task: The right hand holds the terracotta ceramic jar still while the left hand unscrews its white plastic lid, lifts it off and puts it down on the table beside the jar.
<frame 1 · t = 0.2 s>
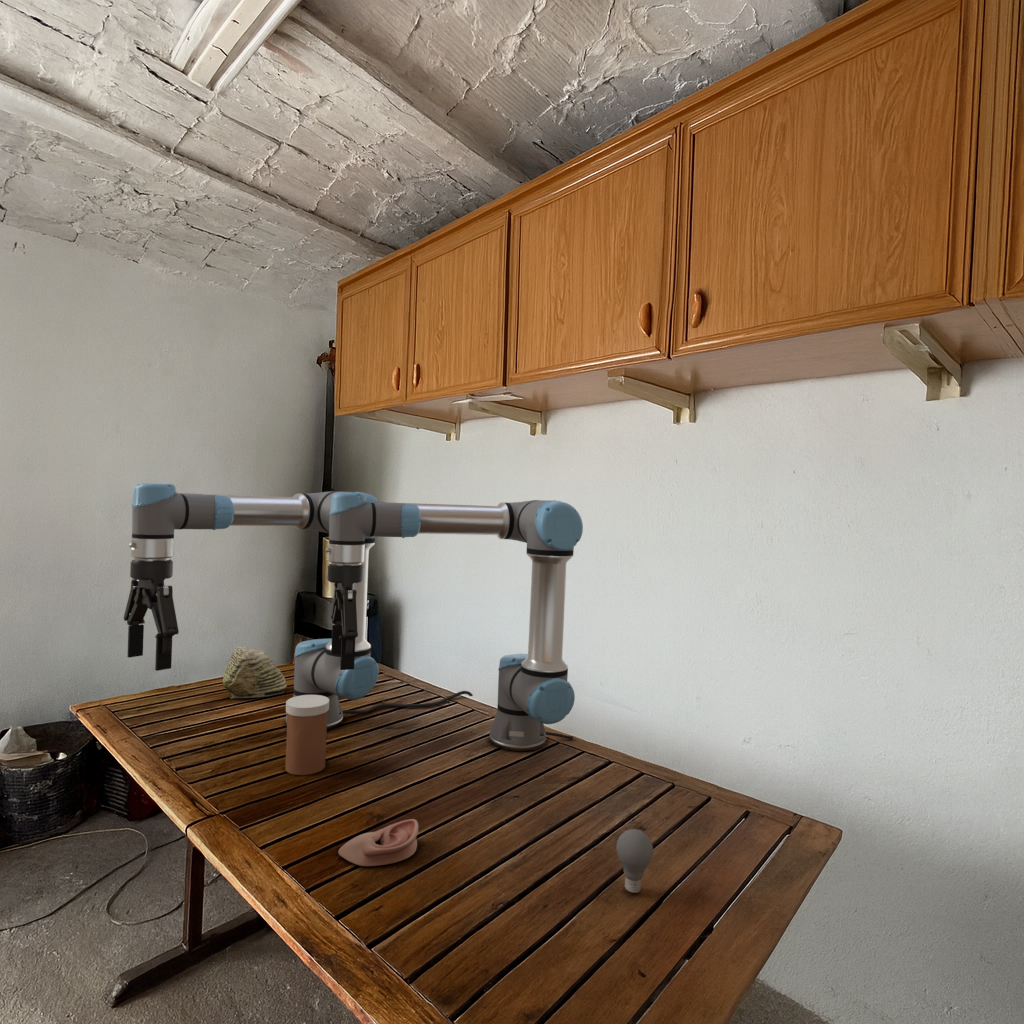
left hand: (148, 662, 129), 28 cm above the table, tool pointing down, fingers open, 13 cm apart
right hand: (342, 661, 137), 28 cm above the table, tool pointing down, fingers open, 13 cm apart
jar: (305, 766, 148), on the table
lid: (307, 702, 148), point 15 cm above the table, screwed on, not yet turned
light bulb: (632, 891, 106), on the table
anatomical model: (378, 850, 115), on the table
fossil: (254, 694, 198), on the table
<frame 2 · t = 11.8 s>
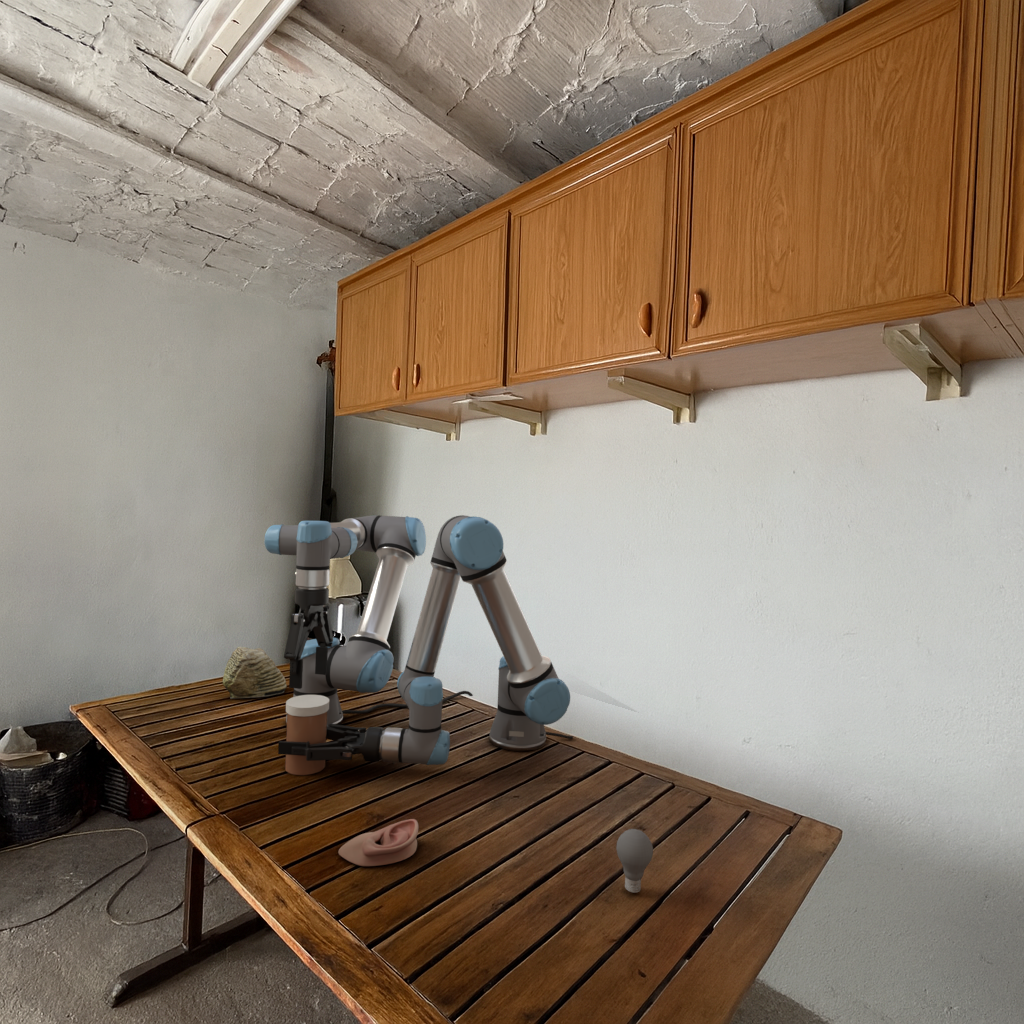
left hand: (308, 680, 148), 20 cm above the table, tool pointing down, fingers open, 11 cm apart
right hand: (287, 739, 148), 6 cm above the table, tool horizontal, fingers closed on jar, 9 cm apart
jar: (305, 766, 148), on the table, touching right hand
everything else where it was.
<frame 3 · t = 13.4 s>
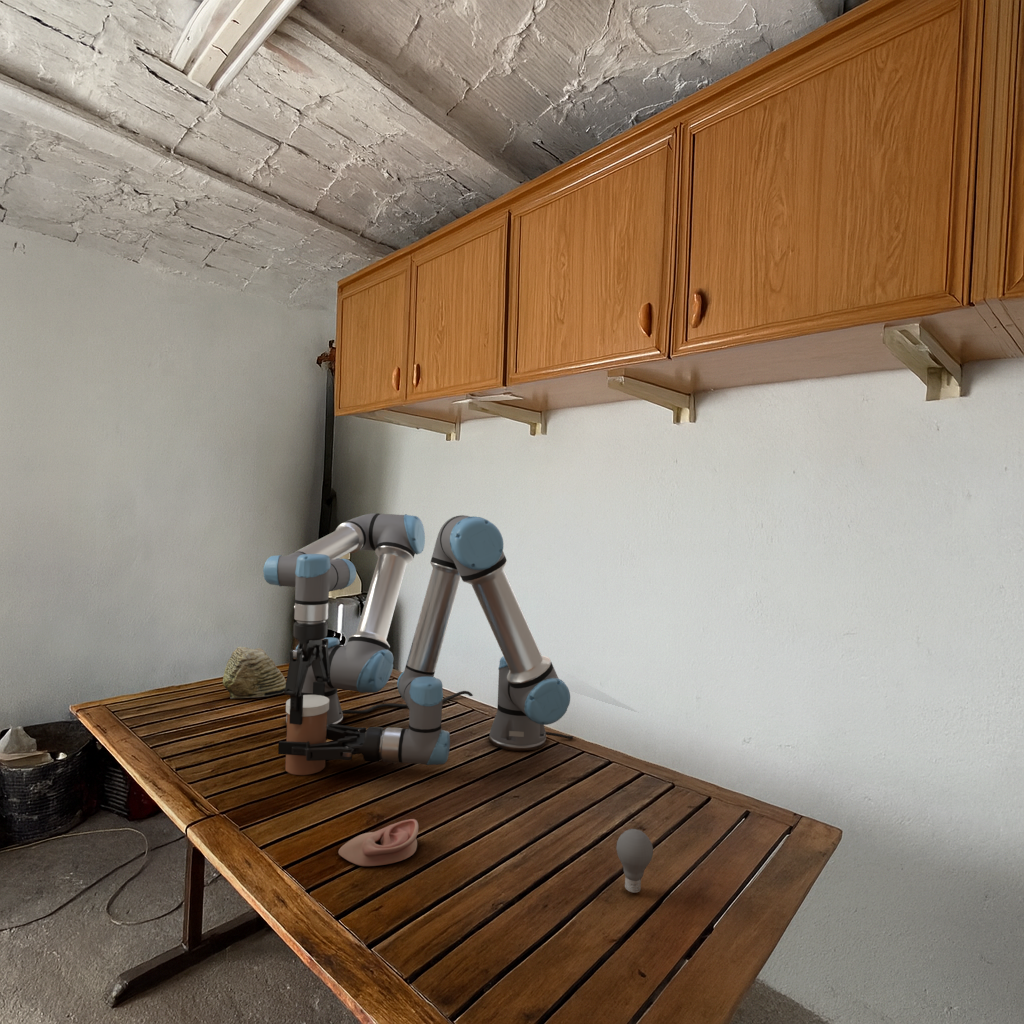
left hand: (307, 716, 148), 12 cm above the table, tool pointing down, fingers closed on lid, 10 cm apart
right hand: (287, 739, 148), 6 cm above the table, tool horizontal, fingers closed on jar, 9 cm apart
jar: (305, 766, 148), on the table, touching right hand
lid: (307, 702, 148), point 15 cm above the table, screwed on, not yet turned, touching left hand
everything else where it was.
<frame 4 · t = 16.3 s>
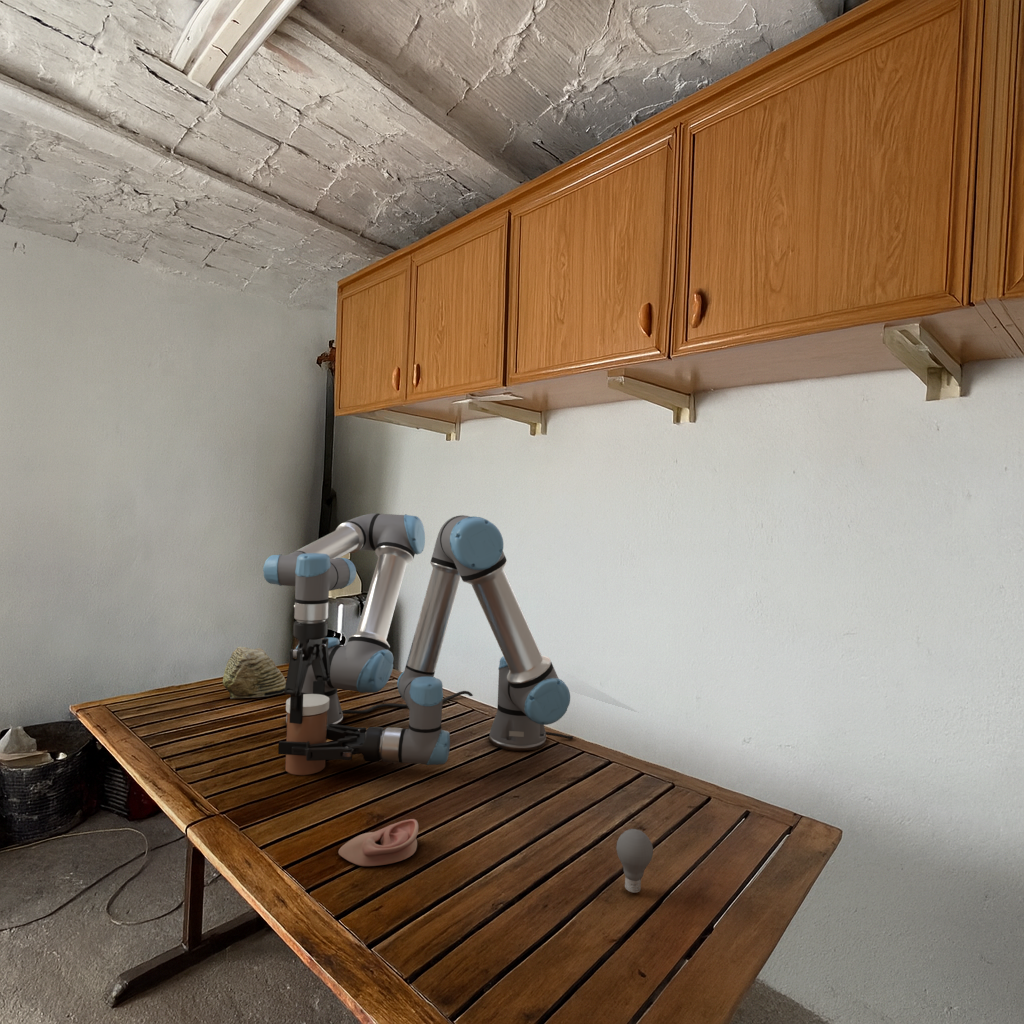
left hand: (307, 715, 148), 12 cm above the table, tool pointing down, fingers closed on lid, 10 cm apart
right hand: (287, 739, 148), 6 cm above the table, tool horizontal, fingers closed on jar, 9 cm apart
jar: (305, 766, 148), on the table, touching right hand
lid: (307, 701, 148), point 15 cm above the table, turned 64° so far, risen 0.2 cm, still on its thread, touching left hand
everything else where it was.
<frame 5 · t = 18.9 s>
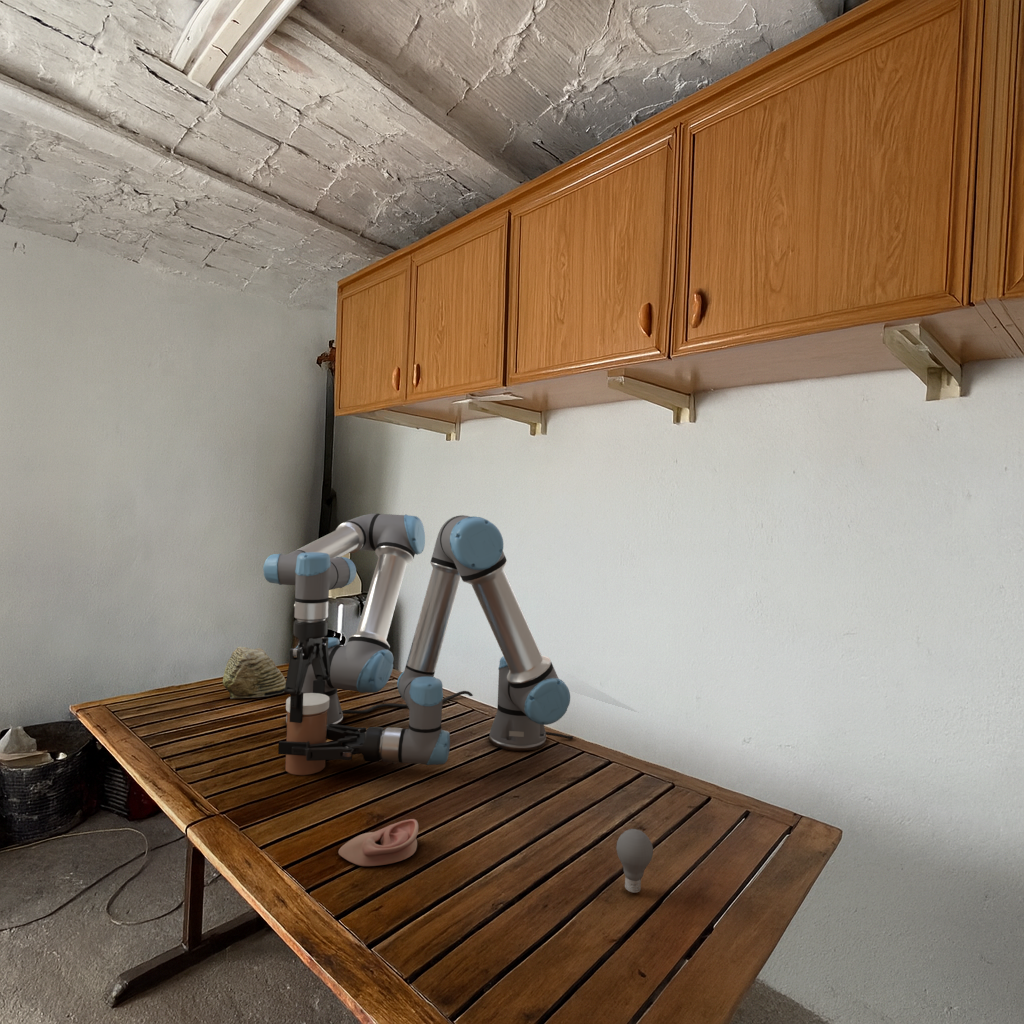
left hand: (307, 714, 148), 12 cm above the table, tool pointing down, fingers closed on lid, 10 cm apart
right hand: (287, 739, 148), 6 cm above the table, tool horizontal, fingers closed on jar, 9 cm apart
jar: (305, 766, 148), on the table, touching right hand
lid: (308, 700, 148), point 16 cm above the table, turned 129° so far, risen 0.4 cm, still on its thread, touching left hand
everything else where it was.
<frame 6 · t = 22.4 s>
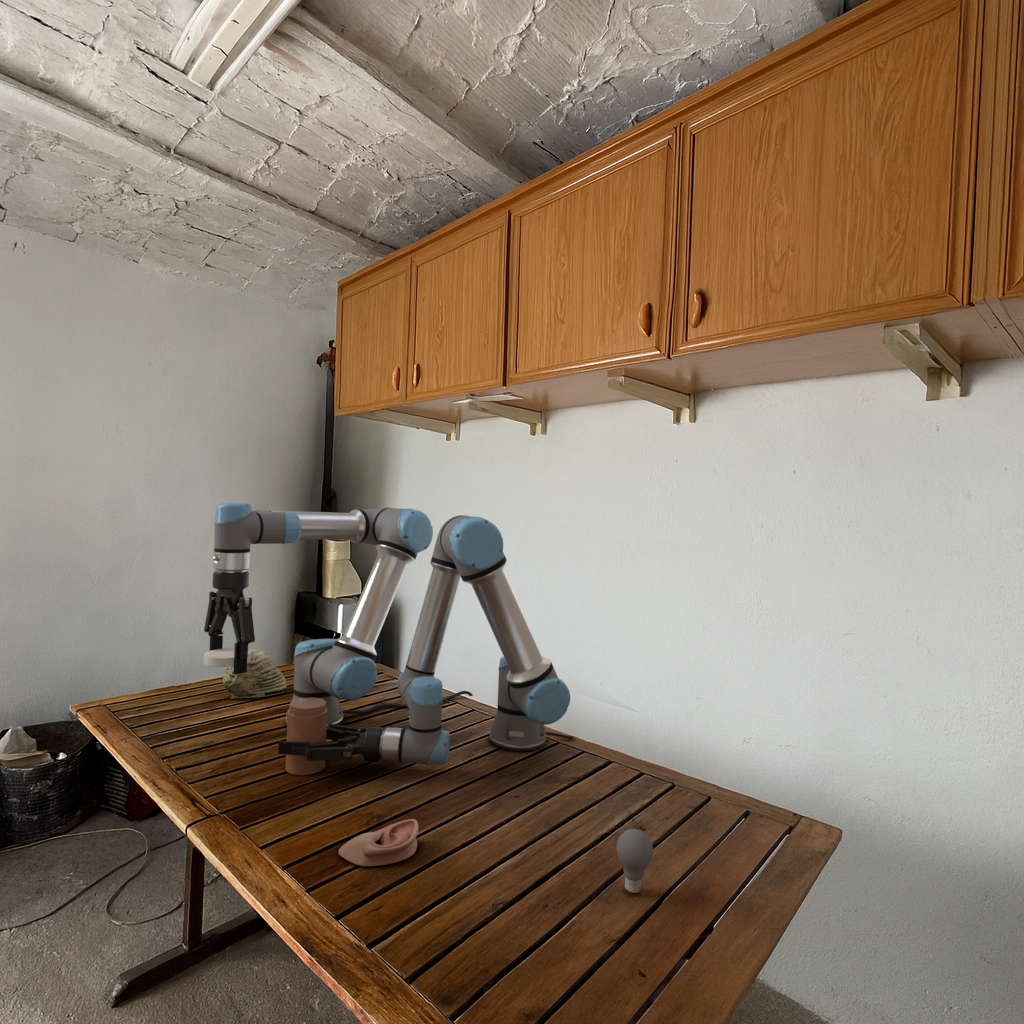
left hand: (227, 668, 144), 23 cm above the table, tool pointing down, fingers closed on lid, 10 cm apart
right hand: (287, 739, 148), 6 cm above the table, tool horizontal, fingers closed on jar, 9 cm apart
jar: (305, 766, 148), on the table, touching right hand
lid: (227, 654, 144), point 27 cm above the table, off its thread, touching left hand
everything else where it was.
when the left hand's fingers open (0 cm above the table, at t = 25.8 s): lid drops 2 cm, point 2 cm above the table.
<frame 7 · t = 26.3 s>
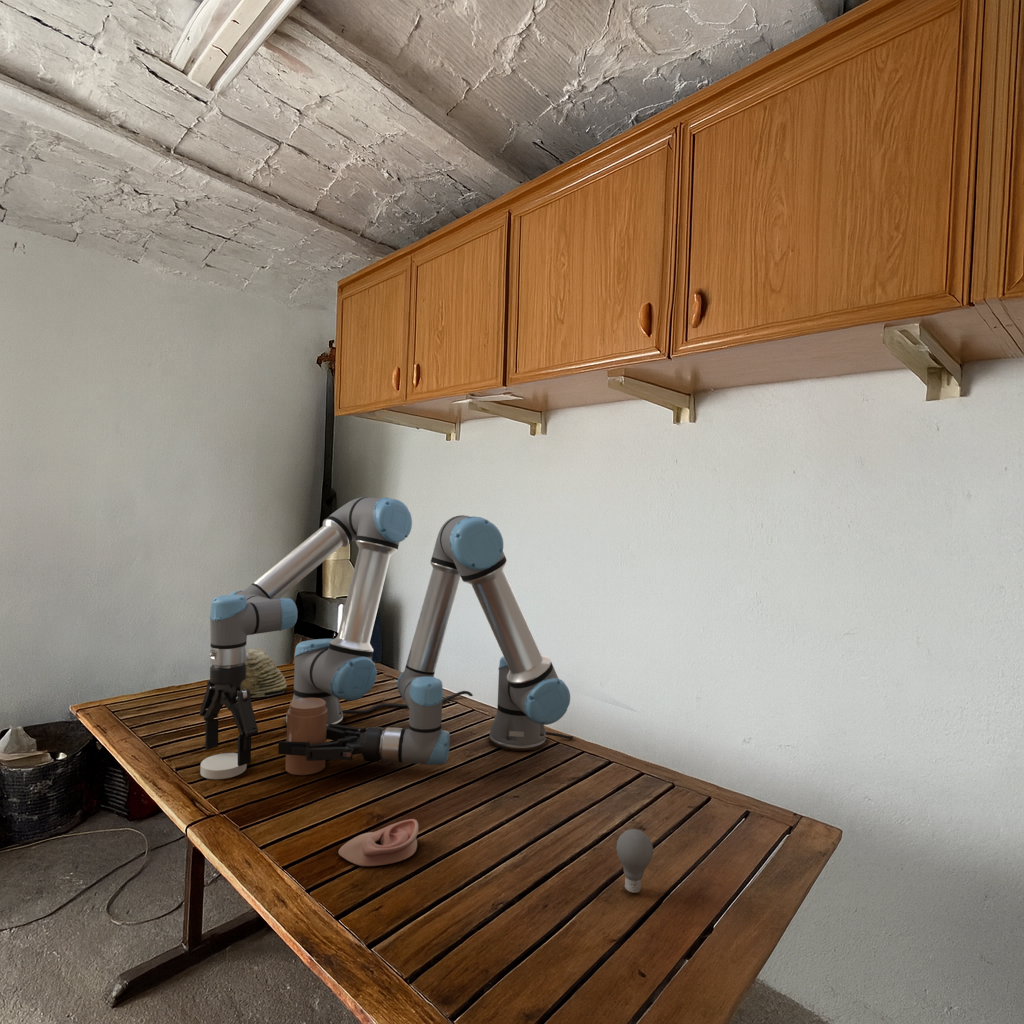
left hand: (227, 755, 145), 3 cm above the table, tool pointing down, fingers open, 13 cm apart
right hand: (287, 739, 148), 6 cm above the table, tool horizontal, fingers closed on jar, 9 cm apart
jar: (305, 766, 148), on the table, touching right hand
lid: (224, 762, 144), point 2 cm above the table, off its thread
everything else where it was.
when the right hand's fingers open (6 cm above the table, at t = 26.8 s): jar stays where it is, on the table.
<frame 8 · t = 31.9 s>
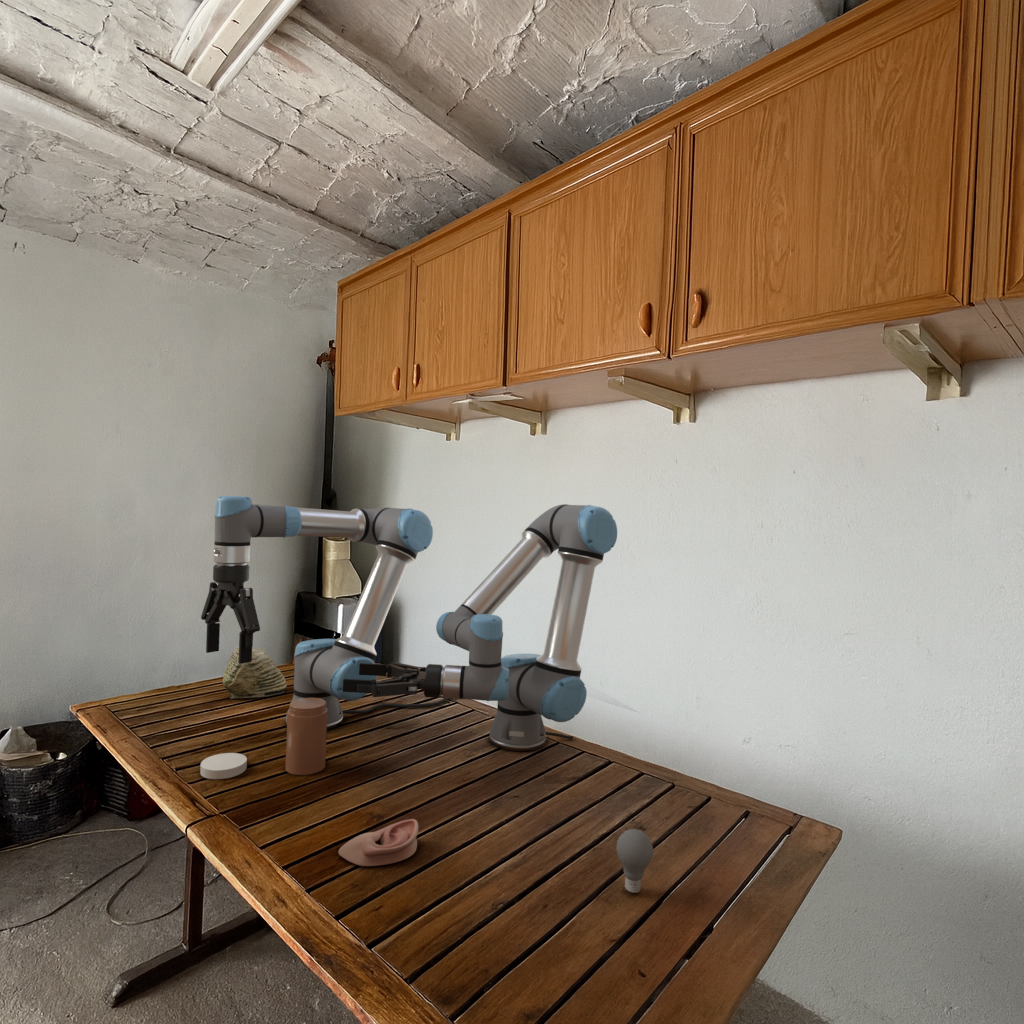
left hand: (228, 657, 144), 26 cm above the table, tool pointing down, fingers open, 13 cm apart
right hand: (351, 676, 147), 22 cm above the table, tool horizontal, fingers open, 13 cm apart
jar: (305, 766, 148), on the table
everything else where it was.
at the end: lid came off its thread; lid point 1.6 cm above the table; the left hand is holding nothing; the right hand is holding nothing; jar tilted 0°; jar moved 0.0 cm from its start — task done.
